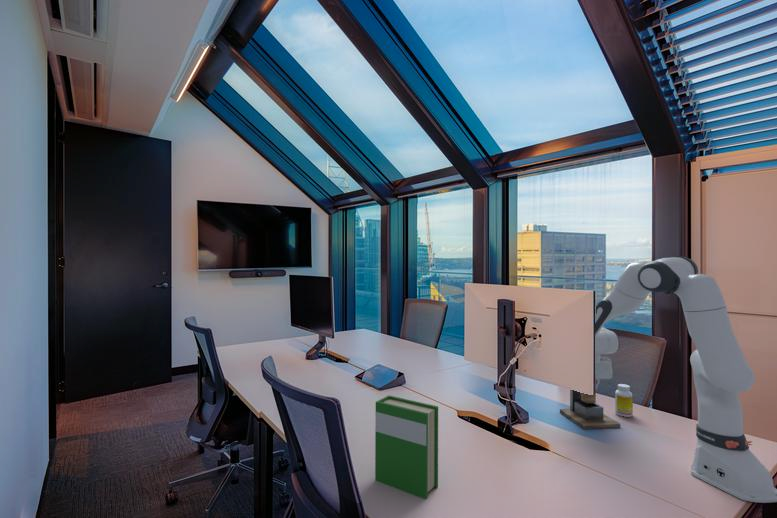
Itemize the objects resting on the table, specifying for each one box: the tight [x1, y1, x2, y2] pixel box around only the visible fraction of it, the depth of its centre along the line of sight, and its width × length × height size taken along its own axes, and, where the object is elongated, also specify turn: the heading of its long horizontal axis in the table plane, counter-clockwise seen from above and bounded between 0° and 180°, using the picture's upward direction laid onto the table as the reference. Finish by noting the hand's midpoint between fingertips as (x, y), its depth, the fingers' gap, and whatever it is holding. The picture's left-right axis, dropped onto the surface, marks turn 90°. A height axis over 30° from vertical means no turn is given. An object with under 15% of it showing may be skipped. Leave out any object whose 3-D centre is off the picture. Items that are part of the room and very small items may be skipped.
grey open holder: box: [569, 389, 604, 420], centre depth 173 cm, size 12×8×14 cm
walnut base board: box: [559, 408, 621, 430], centre depth 172 cm, size 18×16×2 cm
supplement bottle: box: [614, 383, 634, 418], centre depth 178 cm, size 7×7×13 cm
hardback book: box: [374, 394, 439, 500], centre depth 121 cm, size 18×7×24 cm, turn 56°
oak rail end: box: [581, 374, 597, 404], centre depth 172 cm, size 4×4×12 cm
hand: (588, 389), depth 172 cm, fingers closed on oak rail end, 4 cm apart
